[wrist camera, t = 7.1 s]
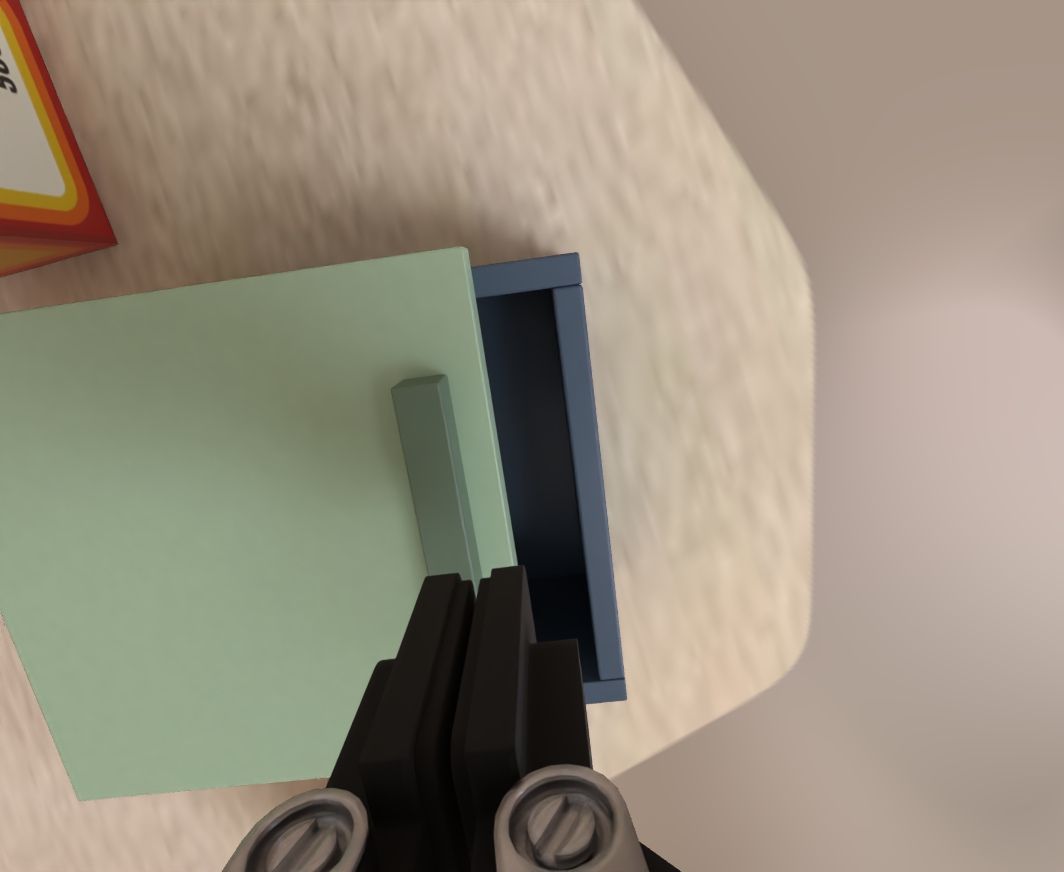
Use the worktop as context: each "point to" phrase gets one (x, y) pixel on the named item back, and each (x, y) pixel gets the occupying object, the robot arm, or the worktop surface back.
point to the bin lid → (238, 510)
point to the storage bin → (553, 456)
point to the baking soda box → (40, 162)
